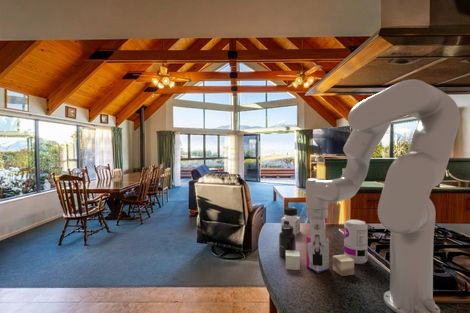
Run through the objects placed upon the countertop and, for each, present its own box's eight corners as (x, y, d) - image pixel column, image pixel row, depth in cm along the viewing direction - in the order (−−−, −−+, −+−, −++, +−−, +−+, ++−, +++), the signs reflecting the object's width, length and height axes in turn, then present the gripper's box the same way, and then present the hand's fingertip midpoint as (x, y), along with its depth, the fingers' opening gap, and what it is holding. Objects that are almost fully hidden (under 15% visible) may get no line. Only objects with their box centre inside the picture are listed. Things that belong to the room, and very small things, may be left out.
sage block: (299, 270, 89) (299, 256, 89) (285, 268, 90) (285, 255, 90) (299, 263, 94) (299, 250, 94) (285, 262, 95) (285, 250, 95)
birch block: (354, 274, 86) (354, 260, 86) (341, 276, 85) (341, 261, 84) (344, 267, 91) (344, 254, 90) (332, 269, 89) (332, 255, 89)
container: (295, 235, 125) (295, 210, 125) (281, 233, 129) (280, 208, 129) (300, 231, 132) (300, 207, 131) (286, 229, 136) (286, 205, 136)
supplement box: (329, 269, 89) (329, 237, 89) (317, 273, 86) (317, 240, 86) (317, 263, 94) (317, 233, 94) (305, 267, 91) (305, 236, 91)
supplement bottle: (276, 257, 100) (276, 227, 100) (281, 250, 106) (281, 223, 106) (293, 260, 97) (293, 230, 97) (297, 253, 103) (297, 225, 103)
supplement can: (344, 262, 94) (344, 223, 94) (343, 254, 102) (343, 218, 102) (368, 266, 91) (368, 225, 91) (365, 257, 99) (365, 220, 99)
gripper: (329, 219, 80) (329, 272, 81) (326, 207, 97) (327, 251, 97) (305, 217, 83) (305, 269, 83) (306, 206, 99) (307, 249, 100)
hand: (317, 259), depth 90 cm, fingers closed on supplement box, 8 cm apart
